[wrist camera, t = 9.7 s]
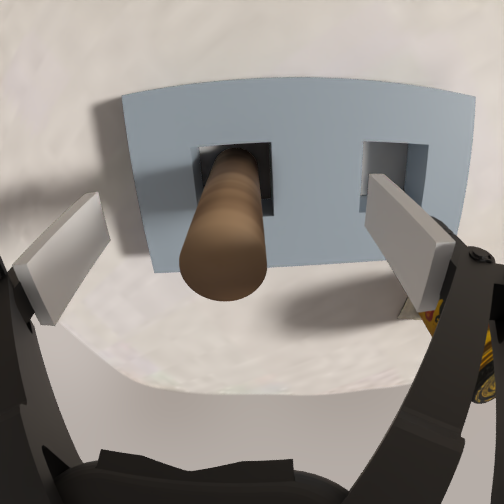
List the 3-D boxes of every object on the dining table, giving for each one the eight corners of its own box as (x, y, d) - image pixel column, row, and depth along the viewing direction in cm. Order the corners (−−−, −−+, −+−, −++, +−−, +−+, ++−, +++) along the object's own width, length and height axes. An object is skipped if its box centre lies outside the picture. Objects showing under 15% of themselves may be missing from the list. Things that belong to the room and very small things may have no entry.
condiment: (428, 251, 25) (502, 351, 15) (488, 264, 26) (556, 346, 15) (396, 316, 28) (442, 420, 18) (457, 321, 29) (506, 406, 19)
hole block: (137, 92, 18) (121, 95, 16) (452, 92, 18) (475, 96, 15) (163, 251, 25) (154, 273, 22) (434, 236, 24) (451, 255, 21)
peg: (211, 149, 21) (171, 229, 10) (256, 146, 21) (265, 223, 10) (215, 191, 22) (186, 302, 12) (259, 188, 22) (268, 299, 12)
